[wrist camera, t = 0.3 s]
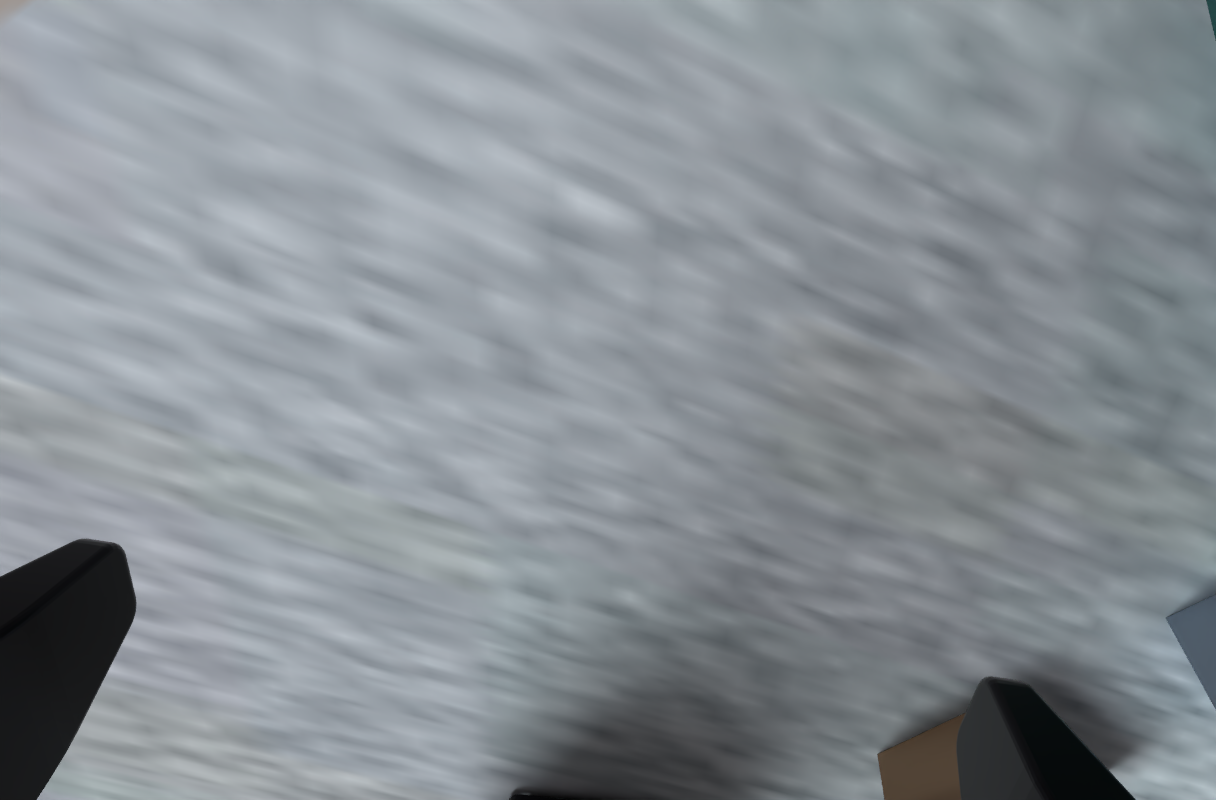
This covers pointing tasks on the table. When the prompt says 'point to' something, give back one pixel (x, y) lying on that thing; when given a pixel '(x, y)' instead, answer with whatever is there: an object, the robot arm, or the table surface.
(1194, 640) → the blue cube
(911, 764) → the walnut cube
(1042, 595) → the table surface
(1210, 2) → the bracket
